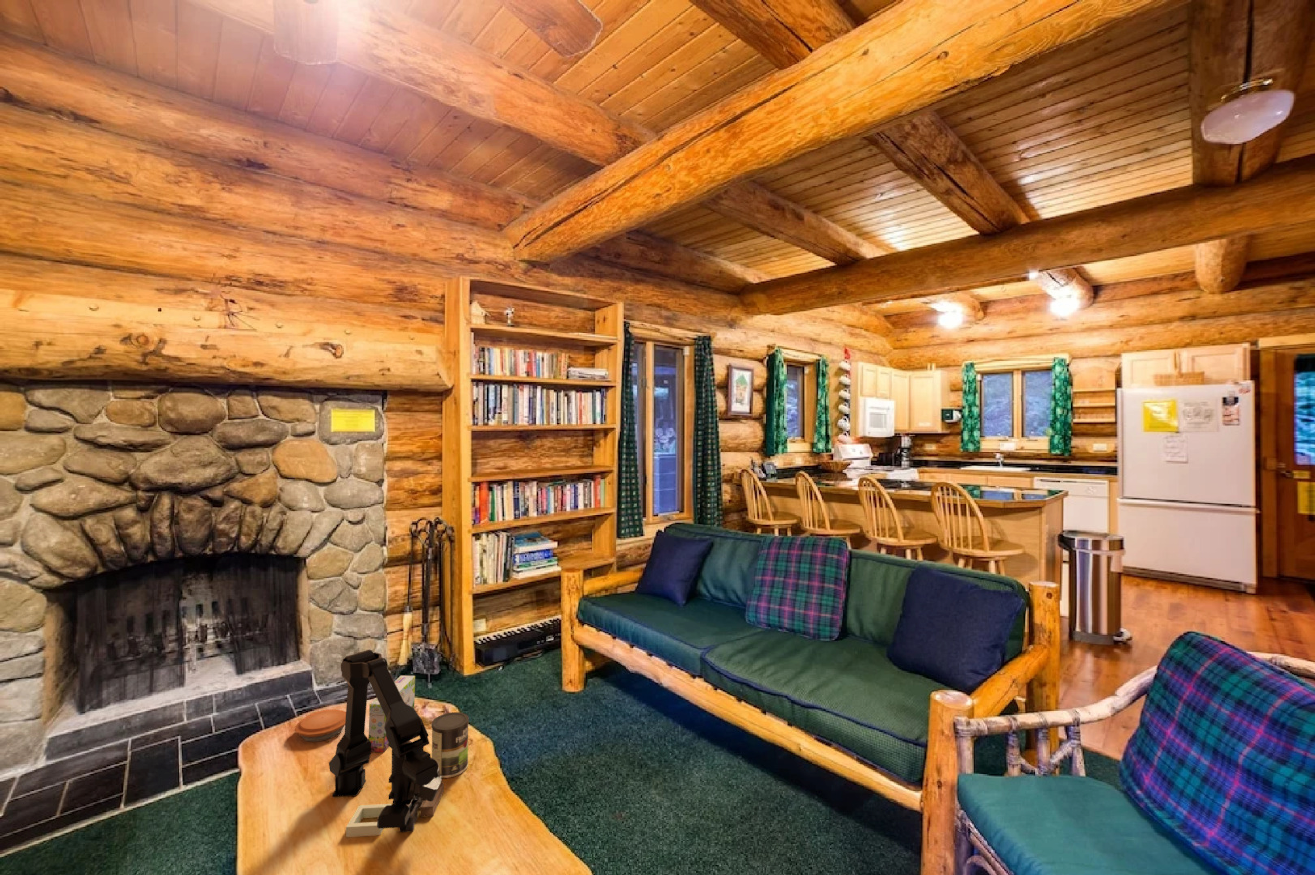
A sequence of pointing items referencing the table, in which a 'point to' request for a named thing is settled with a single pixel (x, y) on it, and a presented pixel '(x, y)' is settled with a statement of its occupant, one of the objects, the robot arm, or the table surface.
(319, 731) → the pie
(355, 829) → the beige square frame
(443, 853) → the table surface
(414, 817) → the dark grey block
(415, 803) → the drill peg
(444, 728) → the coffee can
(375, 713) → the snack box
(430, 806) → the socket block
